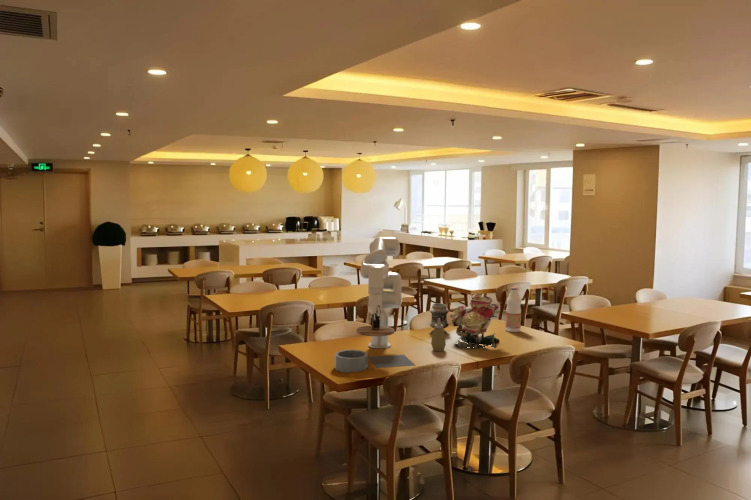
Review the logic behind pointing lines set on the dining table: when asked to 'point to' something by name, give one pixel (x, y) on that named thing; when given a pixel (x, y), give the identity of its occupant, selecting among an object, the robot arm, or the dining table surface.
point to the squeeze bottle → (438, 337)
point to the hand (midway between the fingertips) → (375, 326)
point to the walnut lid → (375, 330)
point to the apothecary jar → (439, 315)
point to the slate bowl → (351, 361)
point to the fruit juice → (513, 311)
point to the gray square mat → (391, 361)
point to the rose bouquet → (475, 322)
